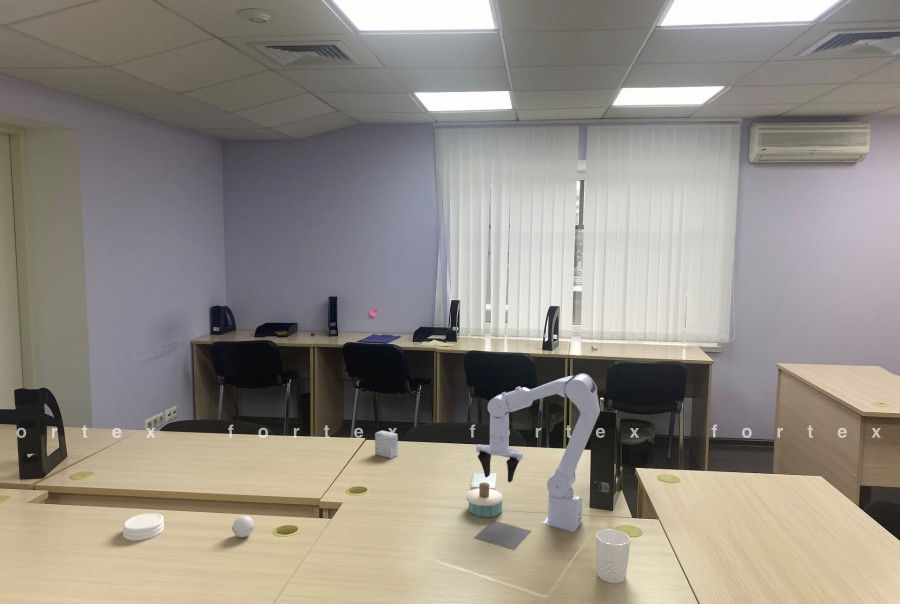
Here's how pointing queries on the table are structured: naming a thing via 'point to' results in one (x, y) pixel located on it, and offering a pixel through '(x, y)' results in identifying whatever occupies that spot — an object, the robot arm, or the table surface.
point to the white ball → (243, 526)
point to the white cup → (612, 555)
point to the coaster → (143, 526)
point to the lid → (484, 496)
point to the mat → (502, 535)
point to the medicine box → (386, 444)
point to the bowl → (485, 510)
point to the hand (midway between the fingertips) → (498, 478)
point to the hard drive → (483, 480)
